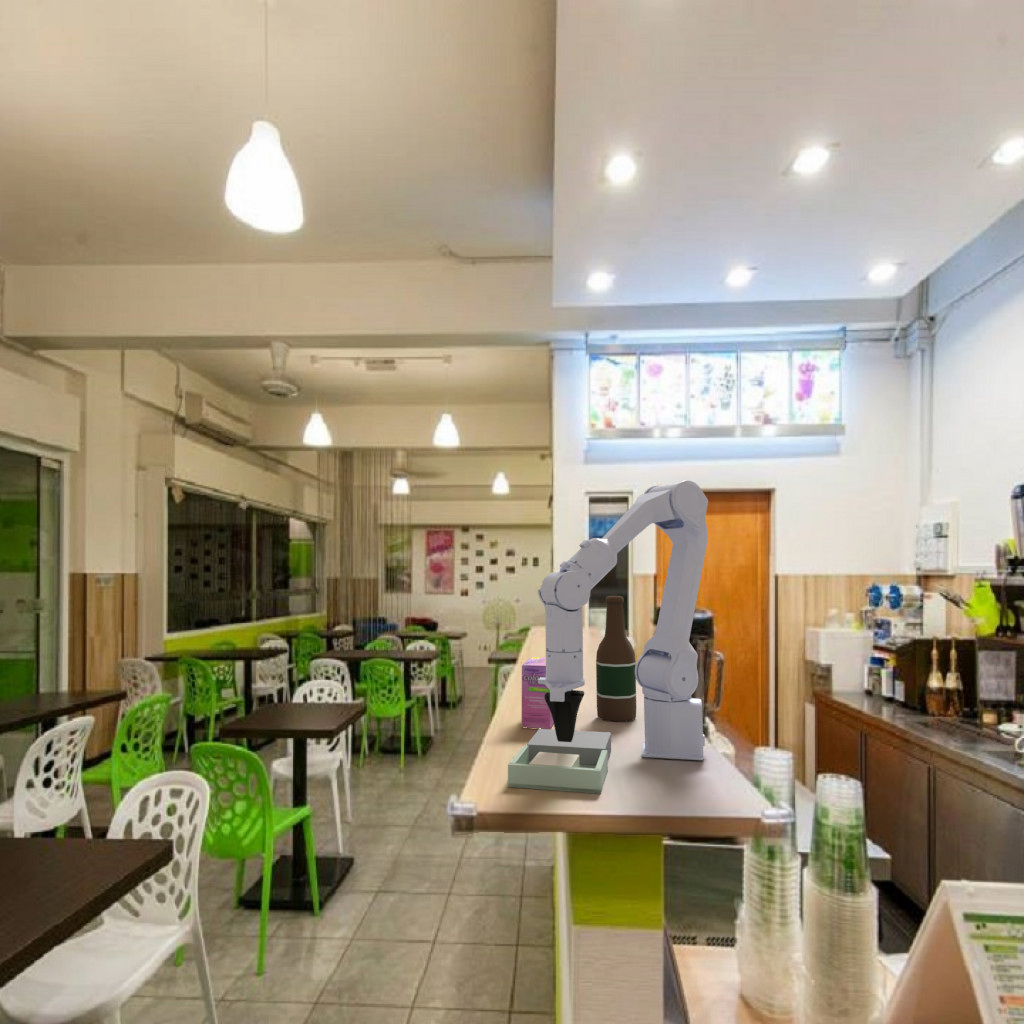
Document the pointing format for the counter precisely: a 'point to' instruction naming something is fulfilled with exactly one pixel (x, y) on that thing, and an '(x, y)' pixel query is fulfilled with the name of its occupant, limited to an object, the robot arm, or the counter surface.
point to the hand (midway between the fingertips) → (565, 740)
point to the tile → (556, 759)
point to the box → (535, 695)
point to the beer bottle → (615, 668)
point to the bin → (557, 774)
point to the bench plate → (572, 745)
